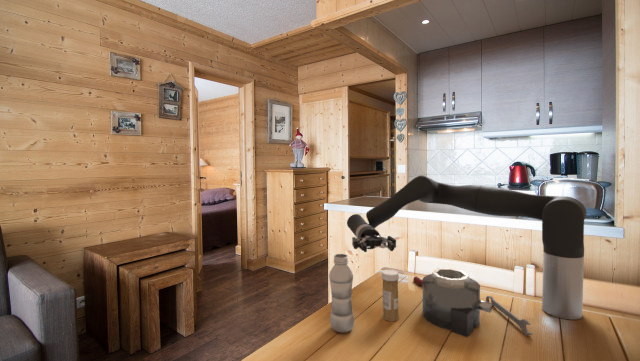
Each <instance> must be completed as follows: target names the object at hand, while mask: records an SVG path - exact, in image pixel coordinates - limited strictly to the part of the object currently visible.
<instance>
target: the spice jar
mask: <svg viewBox="0 0 640 361" xmlns="http://www.w3.org/2000/svg"><path fill="white" fill-rule="evenodd" d="M399 278H400V277H399V271H397V270H395V269H385V270H383V271H382V272H381V279H382V313H383V314H382V318H383V319H384V320H386V321H388V322H396V321H398V320H399V318H400V316H399V284H398V283H399Z"/></svg>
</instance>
